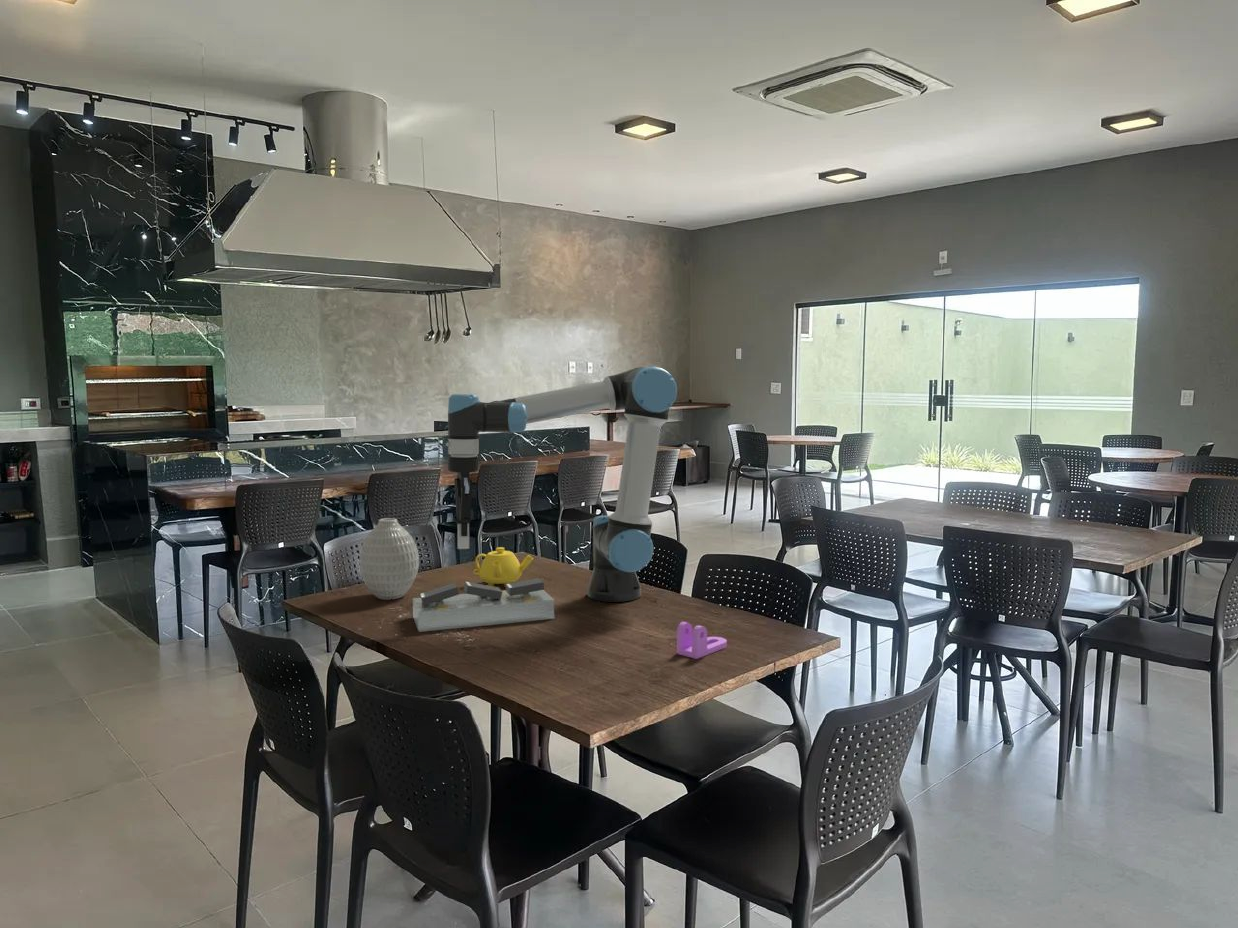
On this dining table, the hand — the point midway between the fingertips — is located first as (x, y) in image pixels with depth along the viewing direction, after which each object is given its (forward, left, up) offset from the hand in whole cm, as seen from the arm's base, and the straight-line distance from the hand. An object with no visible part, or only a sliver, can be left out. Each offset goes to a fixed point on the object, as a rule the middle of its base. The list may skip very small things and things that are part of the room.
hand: (463, 548), depth 217 cm
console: (-5, 0, -19) cm, 19 cm away
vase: (+16, -31, -19) cm, 40 cm away
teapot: (-17, -34, -19) cm, 42 cm away
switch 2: (-5, 0, -11) cm, 12 cm away
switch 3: (-16, 0, -11) cm, 19 cm away
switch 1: (+6, 0, -11) cm, 13 cm away
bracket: (-47, +43, -19) cm, 67 cm away
